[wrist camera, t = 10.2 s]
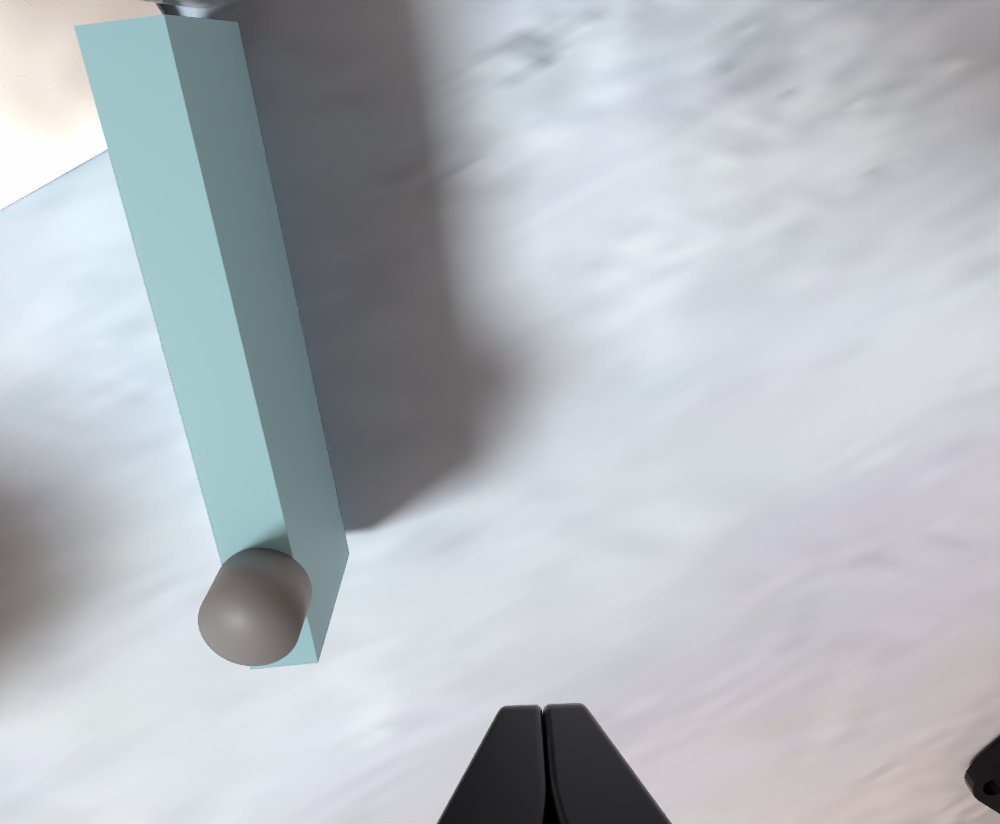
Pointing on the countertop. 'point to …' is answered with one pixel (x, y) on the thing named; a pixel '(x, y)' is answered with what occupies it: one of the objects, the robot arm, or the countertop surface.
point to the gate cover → (225, 325)
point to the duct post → (52, 87)
